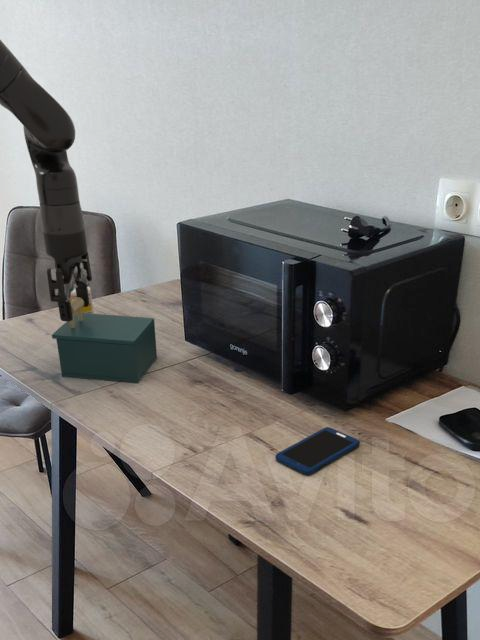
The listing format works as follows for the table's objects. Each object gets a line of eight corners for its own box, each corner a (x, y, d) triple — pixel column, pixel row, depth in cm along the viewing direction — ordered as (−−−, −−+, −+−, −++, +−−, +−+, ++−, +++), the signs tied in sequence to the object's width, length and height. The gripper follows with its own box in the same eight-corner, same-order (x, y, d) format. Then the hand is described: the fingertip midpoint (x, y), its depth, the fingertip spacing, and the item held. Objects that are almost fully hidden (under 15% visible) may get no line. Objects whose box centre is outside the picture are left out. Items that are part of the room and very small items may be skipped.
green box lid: (52, 338, 134) (47, 311, 131) (77, 316, 145) (74, 290, 142) (134, 345, 132) (132, 317, 129) (154, 321, 143) (152, 295, 140)
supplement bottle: (74, 314, 168) (68, 273, 163) (96, 315, 168) (91, 274, 162) (68, 322, 163) (62, 281, 158) (91, 323, 163) (85, 281, 158)
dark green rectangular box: (62, 376, 139) (56, 339, 134) (86, 352, 149) (81, 316, 145) (138, 383, 137) (134, 345, 132) (157, 357, 147) (154, 322, 143)
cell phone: (361, 444, 118) (361, 440, 117) (307, 476, 109) (308, 472, 109) (327, 429, 122) (327, 425, 122) (273, 459, 113) (273, 455, 113)
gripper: (67, 238, 122) (79, 327, 131) (97, 219, 134) (106, 302, 143) (26, 236, 123) (41, 324, 132) (59, 217, 135) (71, 300, 144)
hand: (75, 313), depth 138 cm, fingers open, 8 cm apart
